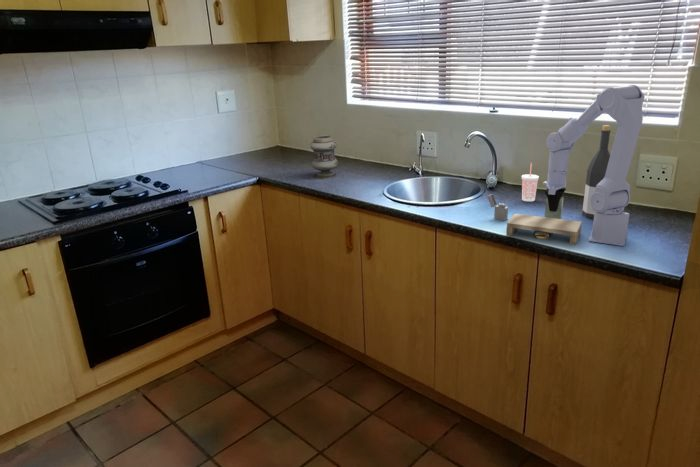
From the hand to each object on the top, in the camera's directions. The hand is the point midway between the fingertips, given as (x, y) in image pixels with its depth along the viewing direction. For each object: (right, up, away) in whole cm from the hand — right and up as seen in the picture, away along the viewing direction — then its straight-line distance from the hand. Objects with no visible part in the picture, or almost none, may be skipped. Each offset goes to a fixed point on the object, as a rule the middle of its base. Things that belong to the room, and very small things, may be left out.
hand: (553, 210), depth 175 cm
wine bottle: (+15, -2, +3) cm, 15 cm away
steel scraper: (-3, -5, -4) cm, 8 cm away
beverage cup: (-1, +5, +22) cm, 23 cm away
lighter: (-18, -3, +5) cm, 18 cm away
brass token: (-9, -9, -13) cm, 18 cm away
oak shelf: (-8, -8, -12) cm, 16 cm away
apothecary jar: (-79, +19, +70) cm, 107 cm away
